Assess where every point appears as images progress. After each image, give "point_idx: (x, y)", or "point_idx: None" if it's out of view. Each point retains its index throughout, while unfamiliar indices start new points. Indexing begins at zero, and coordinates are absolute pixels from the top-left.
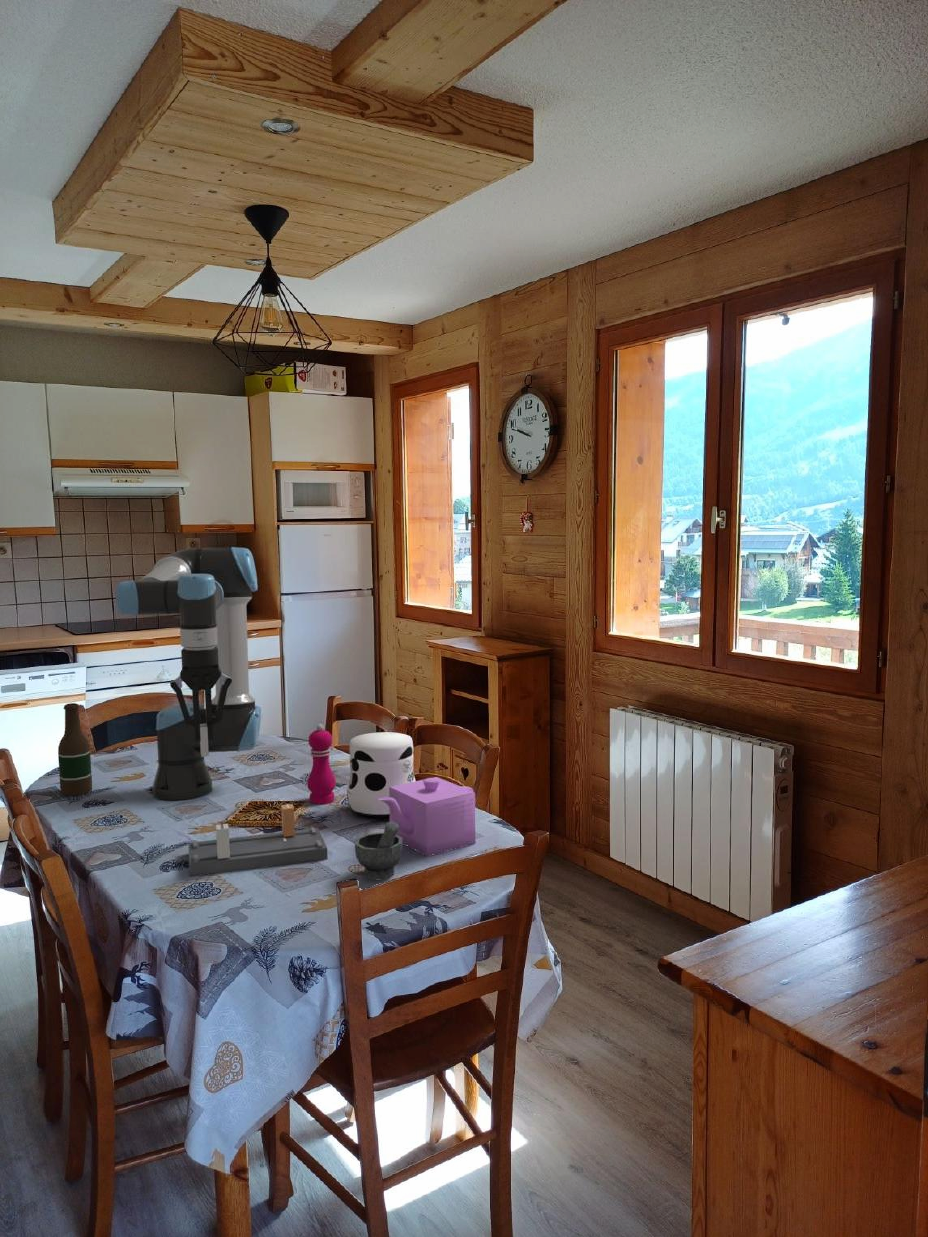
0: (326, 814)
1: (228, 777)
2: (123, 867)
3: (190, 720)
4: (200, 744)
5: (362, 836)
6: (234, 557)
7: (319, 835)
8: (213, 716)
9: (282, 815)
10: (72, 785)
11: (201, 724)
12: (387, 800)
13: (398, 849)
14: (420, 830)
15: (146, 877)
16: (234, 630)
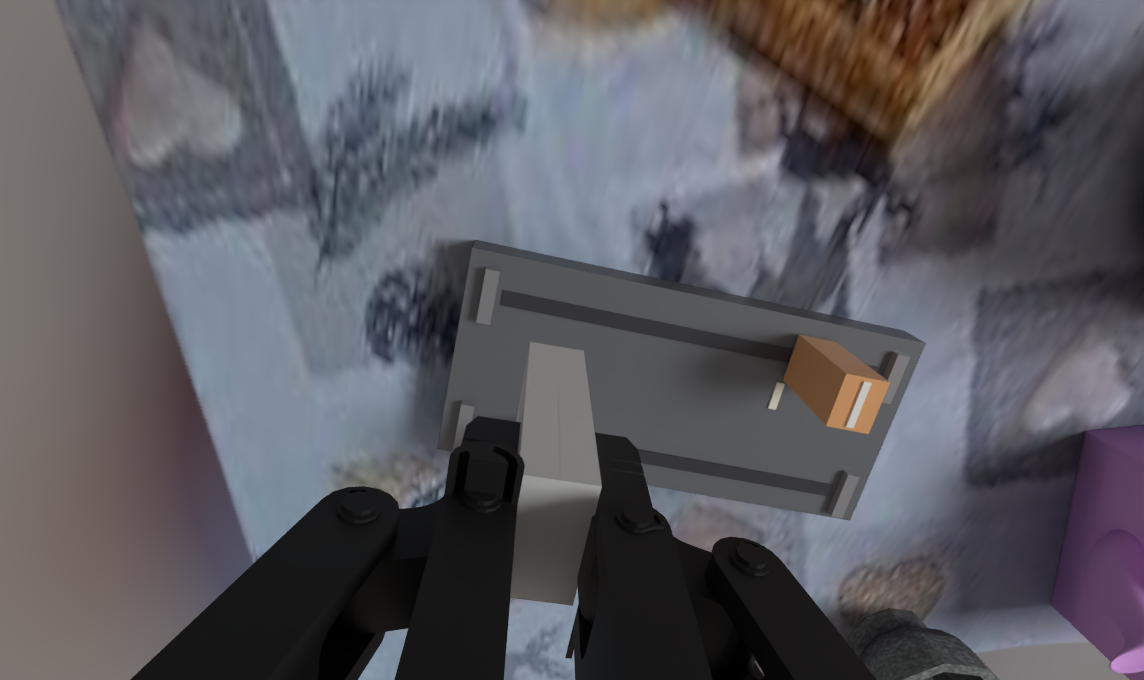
0: (1079, 89)
1: None
2: (248, 250)
3: (371, 650)
4: (523, 395)
5: (925, 673)
6: None
7: (889, 413)
8: (691, 600)
9: (820, 389)
10: None
11: (539, 492)
12: (1132, 671)
13: None
14: (1113, 630)
15: (318, 374)
16: None
